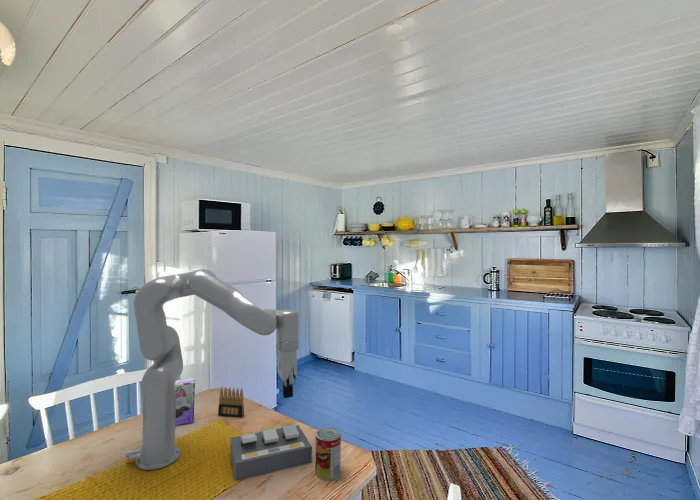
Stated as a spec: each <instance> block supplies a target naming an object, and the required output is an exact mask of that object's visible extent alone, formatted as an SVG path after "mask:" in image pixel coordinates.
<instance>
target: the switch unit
mask: <svg viewBox="0 0 700 500" xmlns="http://www.w3.org/2000/svg"><path fill="white" fill-rule="evenodd" d="M295 426H296V428H297V430H298V433H299V437H295V438H290V439H286V438H285V435H284V433H283V430H282V427H279V428H275V429H276V432H277V435H278V441H276V442H271V443H266V444H265V442H264V438H263V435H262V431H260V432H259V431H258V432H254V434H255V435H256V436H257V441H253V442H248V443H242V441H241V439H240V435H239V436H232V437H230V443H229V445H230V447H229V448H230V449H229V452H230V453H229V454H230V458H231V464H233V465H232V469H233V474H234V478H235V479H234V480H235V481H238V480H241V479H246V478H249V477H253V476H255V477H256V476H260V475H263V474H268V473H271V472H272V473H273V472H275V471H280V470H284V469H287V468H292V467H296V466H300V465H301V466H302V465H304V464H305V465H306V464H308V463H312V459H313V446H312V444H311V442H310V441H309V440H308V438H307V436H306V435H305V433H304V431H303V429H301V427H300V425H299V424H295Z"/></svg>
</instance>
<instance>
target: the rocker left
mask: <svg viewBox="0 0 700 500" xmlns="http://www.w3.org/2000/svg"><path fill="white" fill-rule="evenodd" d="M254 433H255V432H253V431H251V432H248V433H241V434H240V435H239V436H240V439H241V441H242V443H248V442H253V441H257V436H256V435H255V434H254Z"/></svg>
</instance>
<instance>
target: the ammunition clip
mask: <svg viewBox="0 0 700 500" xmlns="http://www.w3.org/2000/svg"><path fill="white" fill-rule="evenodd" d="M218 400H219V401H218V402H219V403H218V409H217V410H218V411H217V412H218V413H217V417H224V418H238V419H242V418H244V416H245V405H244V390H243V388H242V387H241V388H240V390H239V387H237V388H236V390H235V387H233V388H232V389H231V387H230V386H229V387H228V389H227V387H226V386H225V387H224V388H223V386H221V387H220V390H219V399H218Z"/></svg>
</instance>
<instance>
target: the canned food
mask: <svg viewBox="0 0 700 500" xmlns="http://www.w3.org/2000/svg"><path fill="white" fill-rule="evenodd" d="M341 443H342V434H341V431H340V430H338V429H337V428H335V427H323V428H320V429H318V430H317V431H316V433H315V463H314V465H315V466H314V469H315V471H314V472H315V473H314V474H315V476H316V477H317V478H318V479H320V480H325V481H330V480H331V481H332V480H335V479H337V478H338V477H339V476H340V474H341V453H342V452H341V450H342V449H341V447H342V445H341Z"/></svg>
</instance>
